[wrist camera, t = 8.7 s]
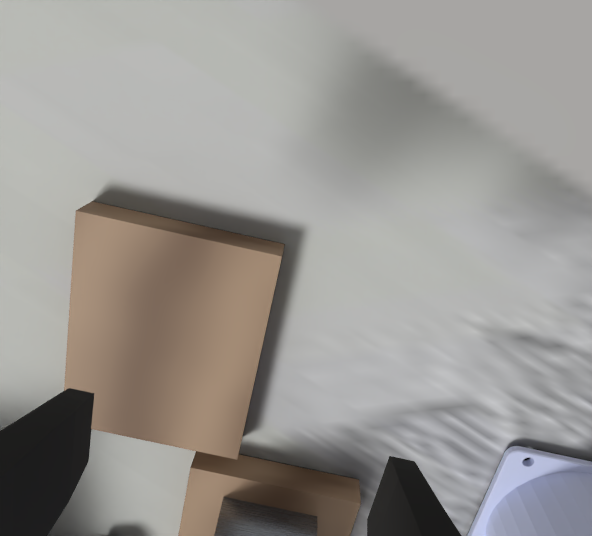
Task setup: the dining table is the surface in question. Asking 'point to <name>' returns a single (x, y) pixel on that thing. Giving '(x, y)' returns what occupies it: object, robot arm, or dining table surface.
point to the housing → (262, 520)
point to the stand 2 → (267, 493)
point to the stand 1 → (167, 326)
